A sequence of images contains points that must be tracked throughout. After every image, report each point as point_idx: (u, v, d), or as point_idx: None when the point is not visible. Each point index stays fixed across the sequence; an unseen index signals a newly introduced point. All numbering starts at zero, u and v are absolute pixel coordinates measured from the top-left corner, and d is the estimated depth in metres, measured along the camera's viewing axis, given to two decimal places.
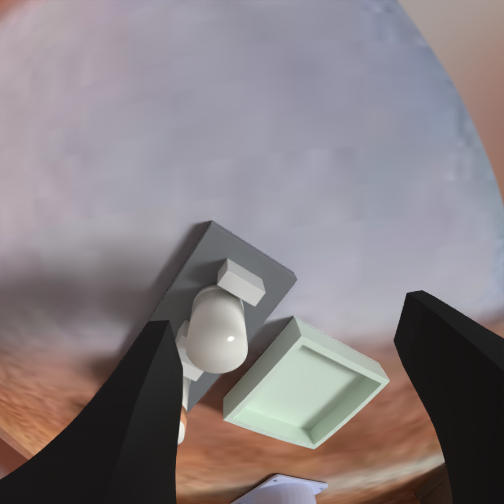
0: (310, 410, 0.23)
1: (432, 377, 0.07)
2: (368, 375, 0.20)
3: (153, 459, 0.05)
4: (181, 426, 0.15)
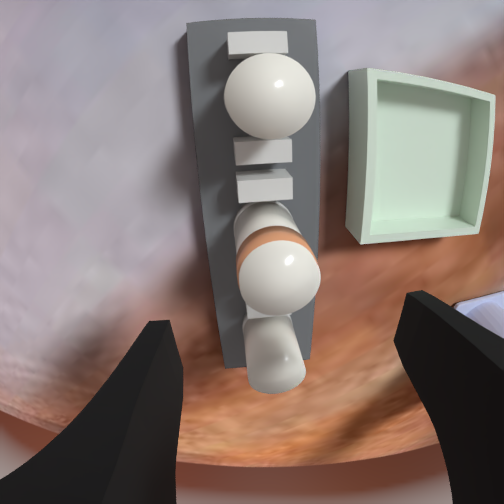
0: (445, 185, 0.17)
1: (432, 377, 0.07)
2: (470, 94, 0.12)
3: (153, 459, 0.05)
4: (304, 250, 0.11)
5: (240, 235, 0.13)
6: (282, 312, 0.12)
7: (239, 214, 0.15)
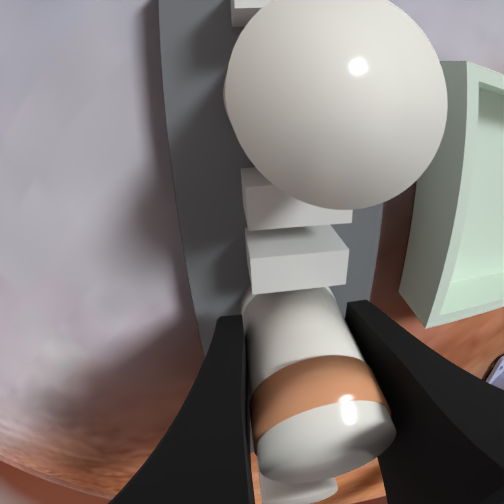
0: None
1: None
2: None
3: (248, 457, 0.05)
4: (380, 414, 0.05)
5: (256, 355, 0.07)
6: (324, 477, 0.06)
7: (251, 298, 0.09)
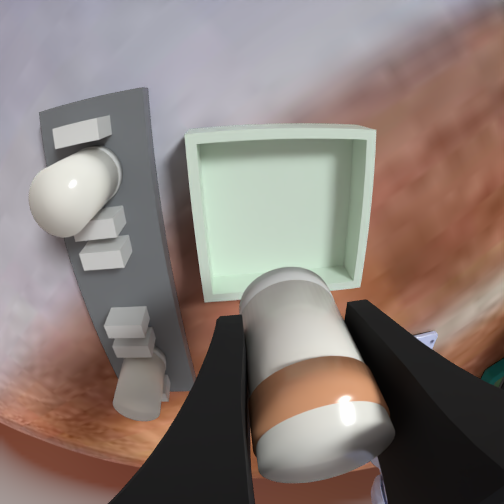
0: (318, 235, 0.18)
1: None
2: (332, 135, 0.14)
3: (248, 457, 0.05)
4: (381, 415, 0.05)
5: (256, 354, 0.07)
6: (321, 478, 0.06)
7: (251, 297, 0.09)
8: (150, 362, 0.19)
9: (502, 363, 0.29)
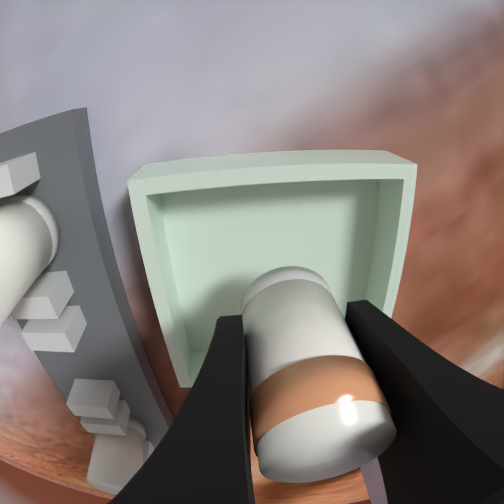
0: None
1: None
2: (355, 175, 0.09)
3: (248, 457, 0.05)
4: (382, 415, 0.05)
5: (257, 353, 0.07)
6: (322, 478, 0.06)
7: (252, 297, 0.09)
8: (125, 438, 0.14)
9: None
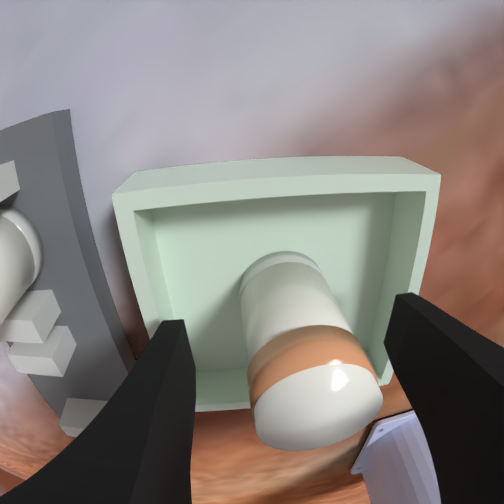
0: None
1: (420, 381, 0.07)
2: (374, 187, 0.08)
3: (171, 460, 0.05)
4: (368, 378, 0.06)
5: (254, 327, 0.08)
6: (315, 446, 0.07)
7: (250, 278, 0.10)
8: None
9: None
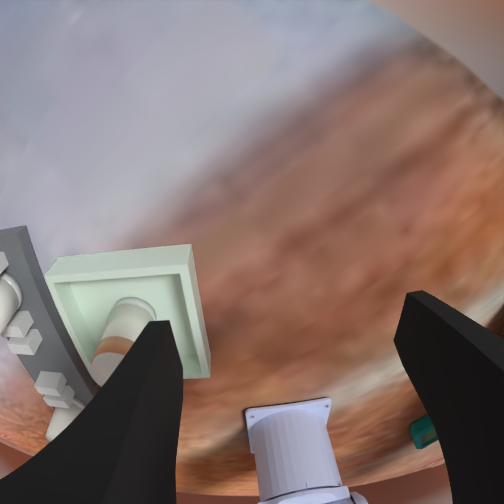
0: None
1: (432, 377, 0.07)
2: (147, 273, 0.16)
3: (153, 459, 0.05)
4: None
5: None
6: None
7: (112, 310, 0.19)
8: (70, 410, 0.21)
9: None
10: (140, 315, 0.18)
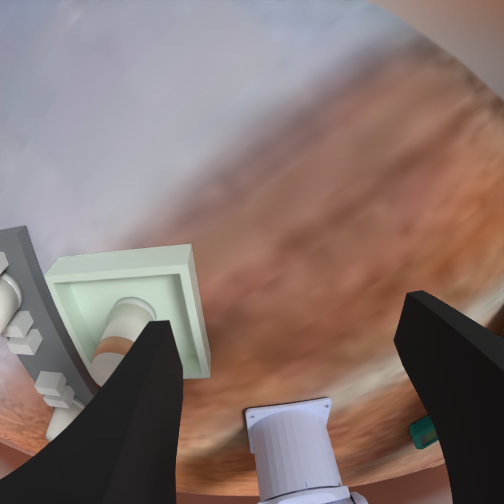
0: None
1: (432, 377, 0.07)
2: (147, 273, 0.16)
3: (153, 459, 0.05)
4: None
5: None
6: None
7: (112, 310, 0.19)
8: (70, 410, 0.21)
9: None
10: (140, 315, 0.18)
